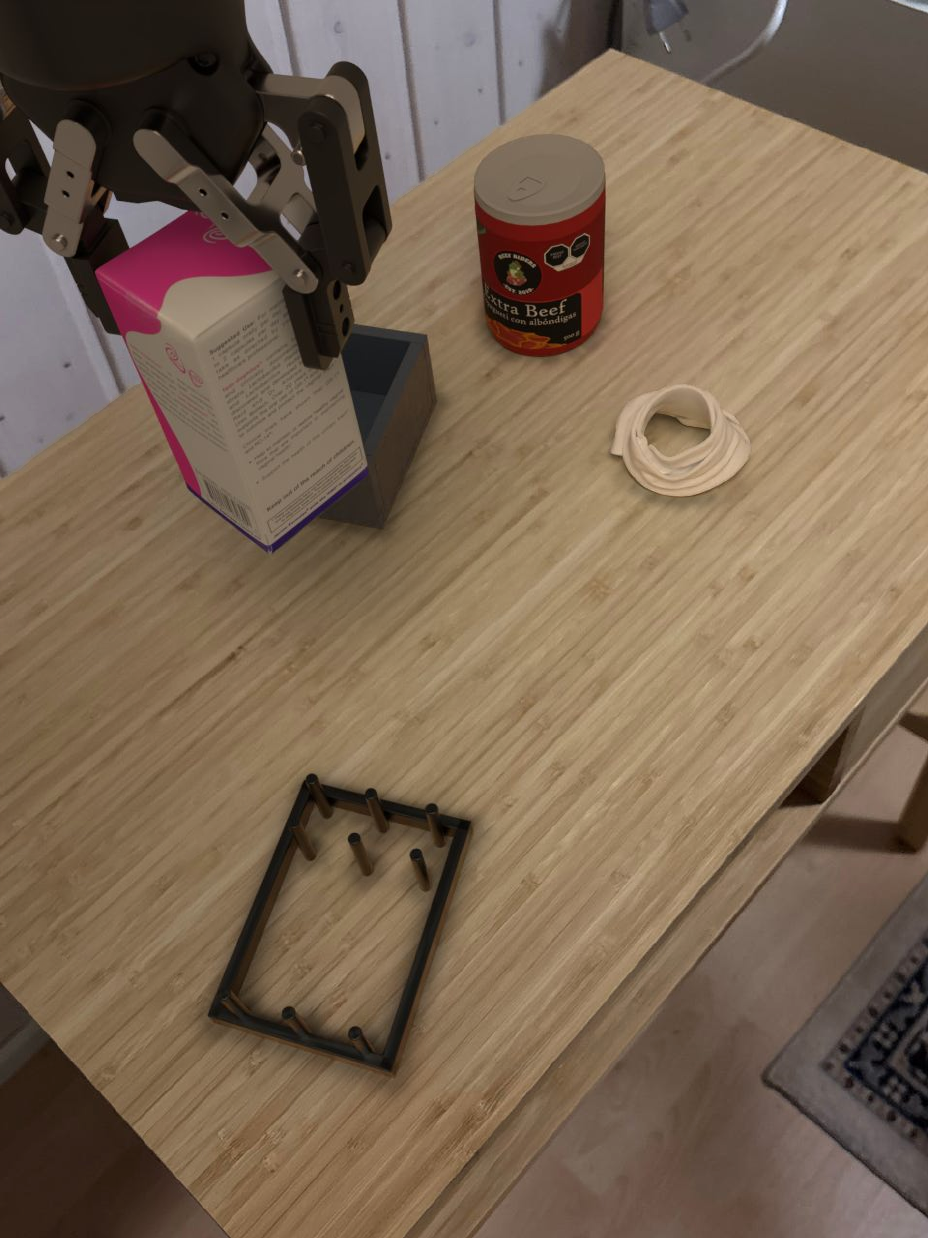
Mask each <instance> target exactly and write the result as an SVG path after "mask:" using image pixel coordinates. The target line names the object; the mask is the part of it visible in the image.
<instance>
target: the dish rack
mask: <svg viewBox="0 0 928 1238" xmlns="http://www.w3.org/2000/svg"><path fill="white" fill-rule="evenodd" d="M314 805H316V807H317V810H318V811H319V814H320V817H322V818H324V819H330V818H331V817H332V816H333V812H334V811H333V809H332V807H333V808H338V809H340V810H346V811H348V812H353V813H357V814H360V815H365V816H368V817H372V819H373V822H374V825H375V828H376V830H377V832H378V833H381V834H385V833H386V832H388V831H389V828H390V825H389V822H393V823H396V824H400V825H404V826H409V827H412V828H415V829H420V830H424V831H427V832H430V833H431V837H432V840H433V843H434V846H435V847H436V848H444V847H445V846H446V844H447V837H451V838H452V841H451V845H450V847H449V850H448V854H447V857H446V859H445V863H444V865H443V869H442V872H441V875H440V878H439V881H438V885H437V887H436V890H435V894H434V897H433V900H432V903H431V906H430V909H429V911H428V915H427V918H426V921H425V924H424V927H423V930H422V933H421V936H420V939H419V942H418V946H417V949H416V952H415V955H414V957H413V961H412V964H411V967H410V970H409V973H408V976H407V978H406V983H405V986H404V989H403V991H402V995H401V998H400V1001H399V1004H398V1007H397V1010H396V1013H395V1016H394V1019H393V1022H392V1025H391V1029H390V1031H389V1035H388V1038H387V1040H386V1044H385V1047H384V1050H383V1053H382V1054H381V1053H377V1052H376V1050H375V1049H374V1047H373V1046H372V1044H371V1042H370V1041H369V1039H368V1038H367V1036H366V1035H365V1033H364V1032H363V1030H362V1028H361V1027H359V1026H358V1025H353V1026H351V1027H350V1028H349V1029H348V1031H347V1037H348V1039H349V1040H350V1042H351V1043H352V1044H348V1043H345V1042H341V1041H339V1040H335V1039H332V1038H328V1037H325V1036H322V1035H318V1034H316V1033H314V1032H313V1031H312V1030H311V1028H310V1027H309V1026H308V1024H307V1023H306V1022H305V1020H304V1019H303V1017H301V1015H300V1014H299V1012H298V1010H296V1008H295V1007H294V1006H291V1005H287V1006H284V1007H283V1009H282V1010H281V1018H282V1019H283V1020H284V1021H285V1022H286V1024H287V1025H286V1024H283V1023H281V1022H276V1021H274V1020H270V1019H266V1018H263V1017H259V1016H256V1015H253V1013H252V1012H251V1011H250V1010H249V1009H248V1007H247V1006H246V1005H245V1004H244V1003H243V1002H242V1001H241V1000H240V998H239V997H238V994H239V992H240V989H241V988H242V985H243V983H244V980H245V978H246V975H247V973H248V970H249V967H250V965H251V962H252V960H253V958H254V955H255V952H256V951H257V948H258V945H259V942H260V940H261V938H262V935H263V932H264V929H266V928H265V927H266V925H267V922H268V921H269V917H270V915H271V912H272V910H273V907H274V905H275V902H276V900H277V897H278V896H279V893H280V890H281V888H282V886H283V883H284V880H285V877H286V876H287V873H288V871H289V868H290V865H291V862H292V860H293V858H294V855H295V853H296V850H297V847H298V848H299V850H300V852H301V854H302V856H303V858H304V859H305V860H306V861H308V862H309V861H310V862H312V861H313V860H315V859H316V857H317V851H316V849H315V848H314V846H313V843H312V841H311V839H310V838H309V836H308V834H307V832H306V829H305V827H306V826H307V823H308V820H309V817H310V815H311V813H312V810H313V808H314ZM388 821H389V822H388ZM473 834H474V827H473V822H472V820H468V819H465V818H459V817H455V816H452V815H448V814H444V813H440V810H439V807H438V805H437V804H436V803H433V802H429V803H428V804H426V806H425V808H424V809H423V808H419V807H416V806H412V805H406V804H403V803H400V802H395V801H391V800H387V799H385V798H384V799H383V798H380V796H379V794H378V791H377V789H375V788H374V787H369V788H367V789H366V790H365V791H364V794H363V793H360V792H355V791H352V790H347V789H343V788H339V787H335V786H332V785H327V784H323V783H321V782H320V779H319V777H318V775H317V774H316V773H312V772H311V773H308V774H307V775H306V777H305V779H303V781H302V784H301V786H300V788H299V791H298V793H297V795H296V798H295V800H294V803H293V805H292V808H291V810H290V813H289V815H288V817H287V820H286V822H285V824H284V827H283V830H282V832H281V834H280V837H279V838H278V839H279V840H278V842H277V844H276V847H275V849H274V852H273V853H272V857H271V859H270V862H269V863H268V867H267V868H266V871H265V874H264V876H263V879H262V881H261V882H260V885H259V888H258V891H257V892H256V895H255V897H254V900H253V903H252V905H251V907H250V910H249V913H248V914H247V917H246V919H245V922H244V924H243V926H242V929H241V932H240V934H239V936H238V939H237V942H236V944H235V947H234V949H233V951H232V953H231V956H230V959H229V961H228V964H227V966H226V968H225V971H224V973H223V976H222V978H221V981H220V983H219V985H218V988H217V989H216V992H215V995H214V997H213V999H212V1003H211V1004H210V1007H209V1009H208V1012H207V1017H208V1018H209V1019H210V1020H211V1021H212V1022H213V1023H214V1024H217V1025H221V1026H224V1027H227V1028H230V1029H233V1030H236V1031H240V1032H243V1033H247V1034H250V1035H254V1036H257V1037H260V1038H263V1039H266V1040H270V1041H272V1042H275V1043H278V1044H282V1045H285V1046H288V1047H291V1048H295V1049H299V1050H301V1051H305V1052H308V1053H312V1054H315V1055H318V1056H321V1057H324V1058H328V1059H331V1060H334V1061H337V1062H340V1063H344V1064H347V1065H350V1066H353V1067H357V1068H360V1069H364V1070H366V1071H369V1072H373V1073H376V1074H378V1075H379V1074H380V1075H382V1076H386V1077H389V1078H392V1079H395V1078H396V1076H397V1072H398V1070H399V1066H400V1063H401V1060H402V1057H403V1054H404V1051H405V1048H406V1044H407V1041H408V1039H409V1035H410V1032H411V1029H412V1026H413V1022H414V1020H415V1016H416V1013H417V1010H418V1006H419V1003H420V1000H421V998H422V994H423V991H424V988H425V986H426V982H427V978H428V975H429V973H430V970H431V966H432V962H433V960H434V957H435V953H436V950H437V947H438V944H439V941H440V938H441V935H442V931H443V929H444V925H445V922H446V918H447V915H448V912H449V909H450V906H451V903H452V899H453V897H454V893H455V890H456V887H457V884H458V880H459V878H460V875H461V871H462V868H463V865H464V861H465V860H466V855H467V852H468V849H469V847H470V843H471V840H472V837H473ZM446 836H447V837H446ZM347 843H348V845H349V847H350V849H351V851H352V854H353V856H354V859H355V861H356V863H357V866H358V868H359V870H360V873H361V874H362V875H363V876H365V877H369V876H371V875H372V874H373V872H374V865H373V864H372V861H371V859H370V856H369V854H368V851H367V849H366V847H365V844H364V842H363V839H362V837H361V835H360V834H359V833H358V832H352V833H350V834H349V835H348V836H347ZM409 860H410V863H411V865H412V868H413V871H414V874H415V878H416V881H417V884H418V885H419V889H420V890H421V891H422V892H425V893H426V892H427V893H428V892H429V891H430V890H431V889H432V887H433V883H432V879H431V876H430V874H429V870H428V866H427V864H426V863H427V862H426V860H425V857H424V853H423V851H422V850H421V849H420V848H418V847H417V848H413V849H411V850H410V852H409Z"/></svg>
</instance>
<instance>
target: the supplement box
mask: <svg viewBox="0 0 928 1238" xmlns="http://www.w3.org/2000/svg"><path fill="white" fill-rule="evenodd" d="M296 240H297V241H298V239H296ZM129 248H130V249H128V250H126V251H125V252H123V253H122V254H120V255H118V256H117V257H115V258H114V259H112V260H110V261H109V262H107V263H106V264H104V265H102V266H100V267H99V268H98V269H96V271H95V274H96V277H97V280H98V282H99V284H100V287H101V289H102V291H103V294H104V296H105V298H106V301H107V303H108V305H109V307H110V310H111V312H112V314H113V317H114V319H115V321H116V324H117V326H118V328H119V331H120V333H121V335H122V336H121V337H122V341H123V342H124V344H125V347H126V349H127V351H128V353H129V356H130V358H131V361H132V363H133V365H134V367H135V369H136V372H137V374H138V376H139V378H140V381H141V383H142V386H143V388H144V390H145V393H146V395H147V397H148V399H149V402H150V404H151V406H152V409H153V412H154V413H155V415H156V418H157V420H158V423H159V425H160V427H161V429H162V432H163V434H164V437H165V439H166V441H167V444H168V446H169V448H170V450H171V453H172V455H173V458H174V459H175V462H176V464H177V467H178V470H179V472H180V474H181V475H182V476H181V477H182V478H183V481H184V484H185V486H186V488H187V490H188V491H189V492H190V493H191V494H192V495H193V496H195V497H196V498H197V499H199V501H201V502H202V503H203V504H204V505H206V506H207V507H208V508H210V509H211V510H212V511H213V512H215V513H216V514H217V515H218V516H220V517H221V518H222V519H223V520H225V522H228V524H230V525H231V526H232V527H234V528H235V529H236V530H237V531H238V532H240V533H241V534H242V535H243V536H245V537H246V538H248V539H249V540H250V541H251V542H252V543H254V544H256V545H257V546H258V547H259V548H261V549H262V550H263V551H264V552H265V553H267V554H268V555H270V556H271V555H274V554H275V553H276V552H277V551H279V550H280V549H281V548H282V547H284V546H285V545H286V544H287V543H288V542H290V541H291V540H292V539H293V538H295V537H296V536H297V535H298V534H299V533H300V532H302V531H303V530H304V529H305V528H306V527H308V526H309V525H310V524H311V523H312V522H313V521H315V520H316V519H317V518H319V517H318V516H319V515H321V514H322V513H323V512H324V511H326V510H327V509H328V508H329V507H330V506H331V505H333V504H334V503H335V502H337V501H338V500H339V499H340V498H342V497H343V496H344V495H345V494H347V493H348V492H349V491H350V490H351V489H353V488H354V487H355V486H356V485H357V484H359V483H360V482H361V481H362V480H363V479H364V478H366V476H367V475H368V473H369V469H368V464H367V460H366V456H365V452H364V448H363V443H362V439H361V434H360V430H359V426H358V422H357V418H356V414H355V410H354V406H353V401H352V397H351V394H350V389H349V384H348V380H347V376H346V372H345V368H344V364H343V360H342V356H341V353H340V355H339V357H338V358H333V360H332V362H331V363H330V365H329V367H328V369H327V370H325V371H323V370H317V369H312V368H306V367H305V366H304V365H303V362H302V359H301V355H300V352H299V348H298V345H297V341H296V338H295V334H294V331H293V328H292V324H291V321H290V317H289V314H288V310H287V307H286V303H285V300H284V296H283V293H282V290H283V288H284V286H285V285H286V283H285V282H284V281H283V280H282V278H281V277H280V276H279V275H278V274H277V273H276V272H275V271H274V270H273V269H272V268H271V267H270V266H269V265H268V264H267V262H266V261H265V260H264V259H263V258H262V257H261V256H260V255H259V254H258V253H257V252H256V251H255V250H254V249H253V248H252V247H249V246H246V247H242V248H241V247H237V246H235V245H234V244H233V243H231V242H230V240H229V239H228V238H227V237H226V236H225V235H224V234H223V233H222V232H221V231H220V230H219V229H218V228H217V227H216V226H215V225H214V224H213V222H212V221H211V220H210V219H209V218H208V217H207V216H206V215H205V214H204V213H203V212H195V211H188V210H186V211H185V212H184V213H182V214H181V215H179V216H178V217H176V218H175V219H173V220H172V221H171V222H169V223H167V224H166V225H164V226H163V227H161V228H160V229H158V230H156V231H155V232H152V234H150V235H149V236H147V237H145V238H144V239H142V240H141V241H139V242H138V243H135V244H134V245H133V246H130V247H129Z"/></svg>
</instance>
